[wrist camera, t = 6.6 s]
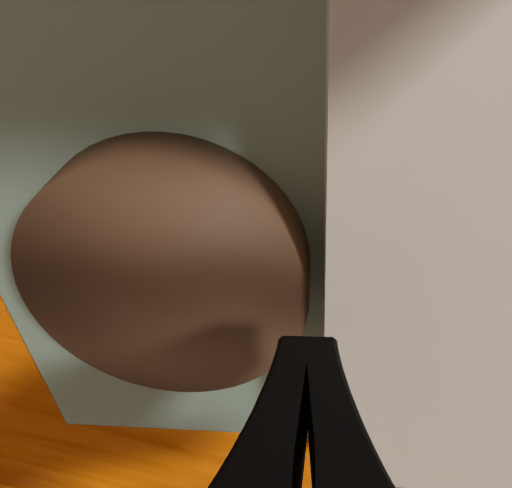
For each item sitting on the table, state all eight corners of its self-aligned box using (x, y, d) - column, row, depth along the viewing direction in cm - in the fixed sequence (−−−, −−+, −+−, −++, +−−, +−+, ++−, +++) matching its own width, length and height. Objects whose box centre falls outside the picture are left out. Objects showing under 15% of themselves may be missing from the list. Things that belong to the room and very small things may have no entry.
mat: (321, 428, 21) (321, 436, 21) (70, 416, 23) (66, 423, 23) (327, -138, 10) (328, -139, 10) (-183, -88, 11) (-197, -88, 11)
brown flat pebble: (313, 350, 18) (313, 395, 16) (88, 348, 19) (68, 389, 18) (304, 122, 13) (302, 154, 11) (-3, 139, 14) (-45, 170, 12)
